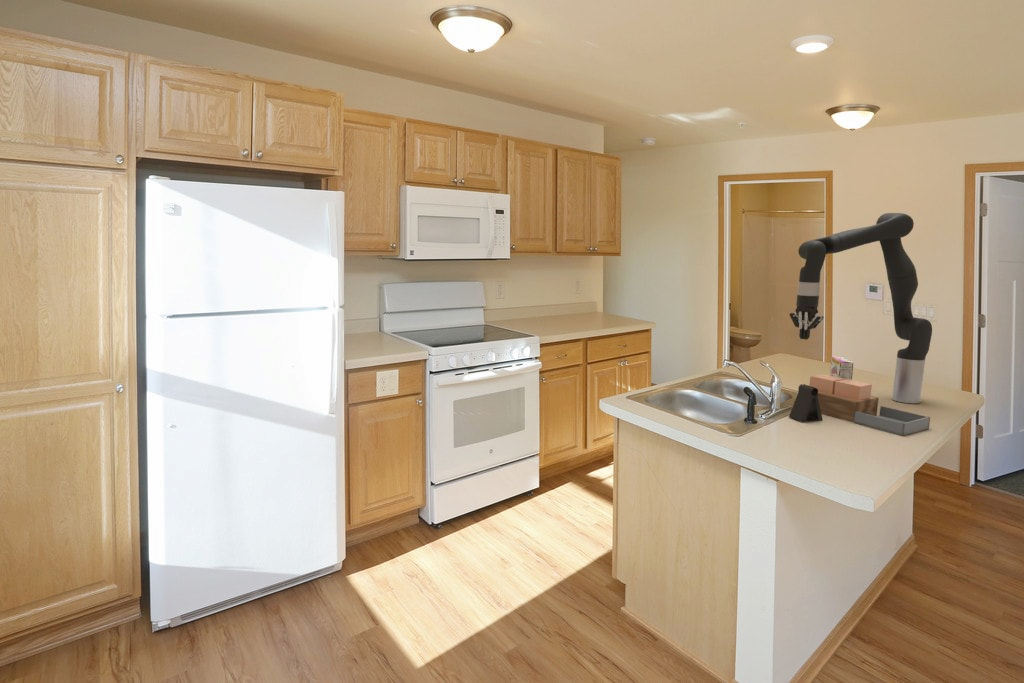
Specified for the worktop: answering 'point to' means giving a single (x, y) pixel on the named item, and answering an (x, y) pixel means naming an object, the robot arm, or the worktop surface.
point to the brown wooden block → (846, 406)
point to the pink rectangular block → (824, 383)
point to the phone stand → (806, 405)
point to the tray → (894, 421)
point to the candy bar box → (841, 368)
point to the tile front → (852, 389)
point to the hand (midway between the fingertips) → (804, 338)
